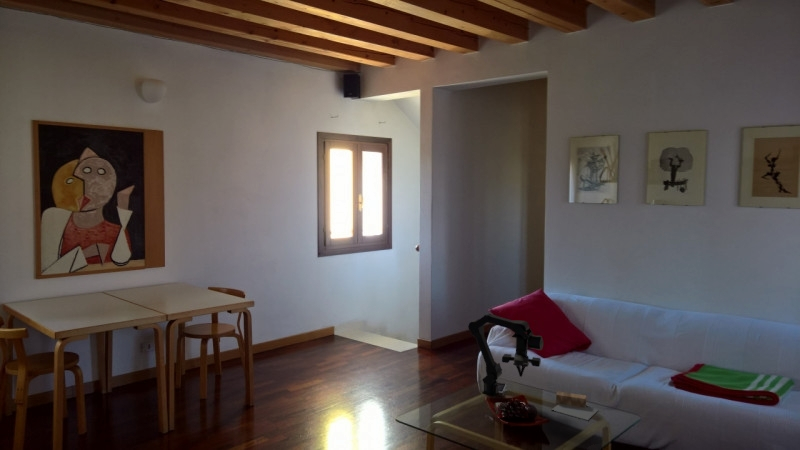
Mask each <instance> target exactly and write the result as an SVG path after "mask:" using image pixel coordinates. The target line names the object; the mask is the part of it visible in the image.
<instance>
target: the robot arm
mask: <svg viewBox="0 0 800 450" xmlns="http://www.w3.org/2000/svg"><path fill="white" fill-rule="evenodd" d="M487 323H488V324H492V325H496V326H498V327H503V328H505V329H509V330H510V331H512V332H513V333H514V334H513V335H511V338H515V354H514V356H513V355H512V354H511V353H509V354H508V353H504V354H503V355H502V358H501V362H502V363H506V364H507V363H510V361H512V364H513V366H515V367H516V370H517V372H518V374H519V377H521V378H522V377H523V374H524V371H525V369H526V367H528V366H529V365H530V364H531V366H533V367H541V363H542V360H541V358H540V357H535V356H533V357H532V358H529V356H528V348H529V349H533V350H538V351H542V350H543V348H544V339H543V335H535V334H534V332H533V330H532V329H531V328H530V325H529V323H528V322H527V321H526V320H519V319H518V320H517V319H515V320H512V319H508V318H505V317H501V316H498V315H495V314H492V313H489V312H488V313H486V314H484V315H483V316H482V317H481V318H476V319H474V320H472V321H471V322H469V323H468V325H467V328H468V330H469V332H470V334H471V335H472V336H473V338H474V339H475V340H476V343H477V346H478V347H479V350H480V353H481V356H482V358H483V360H484V363H485V373H486V376H485V377H483V378H482V382H483V390H482V391H481V392H482V394H484V395H489V396H492V397H494V396H495V395H497V394H499V384H498V381H497V380H498V379H499V378H501V376H502V375H503V368H502V367H501V363H500V362H498V363H497V362H496V361H495V359H494V356H493V354H492V351H491V349H490V346H489V344H488V341H487V339H486V336H485V326H484V325H486V324H487Z"/></svg>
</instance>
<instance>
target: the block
mask: <svg viewBox="0 0 800 450" xmlns="http://www.w3.org/2000/svg"><path fill="white" fill-rule="evenodd" d="M555 394H556V395H555V396H556V397H555V398H556V400H555V404H557V405H558V404H564V405H570V406H577V407H583V408H585V407H587V395H585V394H578V393H571V392H565V391H564V392H563V391H557V392H556V393H555Z"/></svg>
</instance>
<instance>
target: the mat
mask: <svg viewBox="0 0 800 450" xmlns="http://www.w3.org/2000/svg"><path fill="white" fill-rule="evenodd" d="M551 410H554V411H553V412H555V411H556V412H555V413H559V414H562V415H566V416H569V417H573V418H577V419H581V420H584V421H587V422H588V421H589V420H590V419H591V418H593V416H594V415H596V413H597V412H599V409H597V408H594V407H589V406H586V407H585V408H583V407H577V406H570V405H564V404H557V405H555V406H554V407H553V408H552V409H551Z"/></svg>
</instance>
